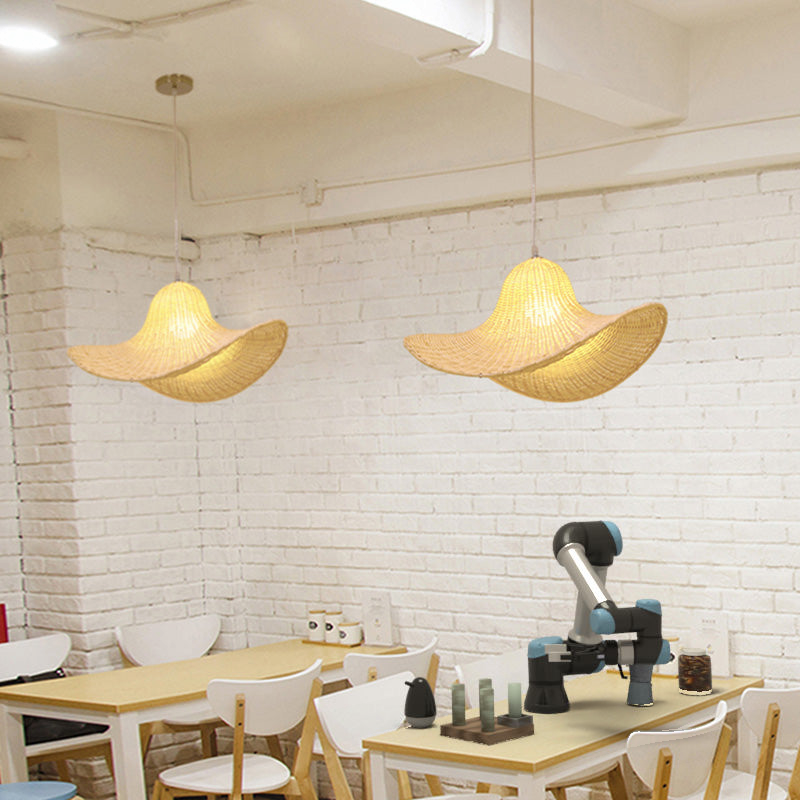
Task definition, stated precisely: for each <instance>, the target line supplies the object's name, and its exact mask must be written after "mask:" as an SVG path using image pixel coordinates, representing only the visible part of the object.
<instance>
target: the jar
mask: <svg viewBox="0 0 800 800" xmlns="http://www.w3.org/2000/svg"><path fill="white" fill-rule="evenodd" d="M681 650H682V652H681V653H682V654H680V655H678V657H677V659H678V660H677V668H678V669H677V670H678V671H677V673H678V674H677V675H678V676H677V677H678V689H679V688H680V689H682V690H687V691H697V692H702V691H709V690H711V689H712V690H713V674H712V673H713V672H712V671H713V670H712V659H711V656H710V655H708V654H707V651H706V649H704V648H694V647H690V648H683V649H681Z"/></svg>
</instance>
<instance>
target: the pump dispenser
mask: <svg viewBox="0 0 800 800" xmlns="http://www.w3.org/2000/svg"><path fill="white" fill-rule="evenodd" d="M404 685H405V686H408V690H407V693H406V697H405V701H404V702H405V703H404V710H403V711H404V712H403V713H404V716H405V720H406V722H407V723H408V725H410V726H411V727H413V726H415V727H414V728H417V727H418V729H420V728H421V729H423V727H424V728H428V727H430V726H431V725H432V724H434V722H435V720H436V716H437V715H438V713H437V705H436V704H437V703H436V699H435V696H434V692H433V689H432V687H431V685H430V682H429V681H428V680H427V679H426V678H425V677H422V676H417V677H416V678H414V679H412V681H407V680H405V681H404Z"/></svg>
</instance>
